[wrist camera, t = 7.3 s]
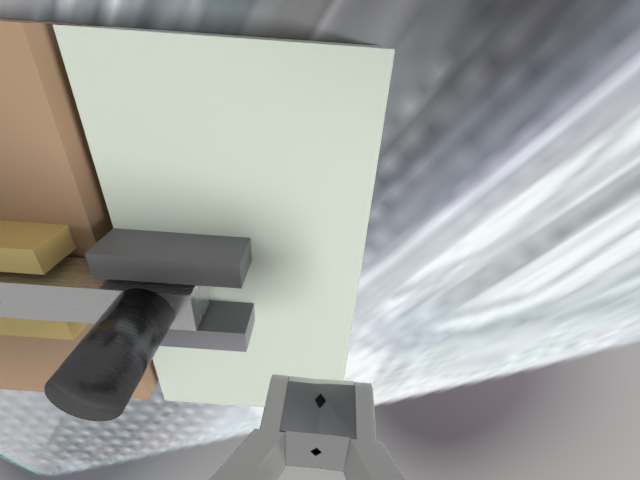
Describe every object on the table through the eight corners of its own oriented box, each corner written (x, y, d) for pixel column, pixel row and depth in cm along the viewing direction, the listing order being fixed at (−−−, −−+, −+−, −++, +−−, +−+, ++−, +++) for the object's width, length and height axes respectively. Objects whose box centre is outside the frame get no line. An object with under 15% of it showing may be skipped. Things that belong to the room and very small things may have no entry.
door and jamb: (380, 45, 14) (406, 52, 9) (337, 359, 25) (339, 445, 20) (-141, 8, 14) (-411, -7, 9) (38, 339, 25) (-40, 419, 19)
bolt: (205, 262, 15) (139, 379, 10) (211, 303, 16) (155, 425, 11) (-18, 247, 15) (-197, 356, 10) (6, 288, 16) (-144, 404, 11)
